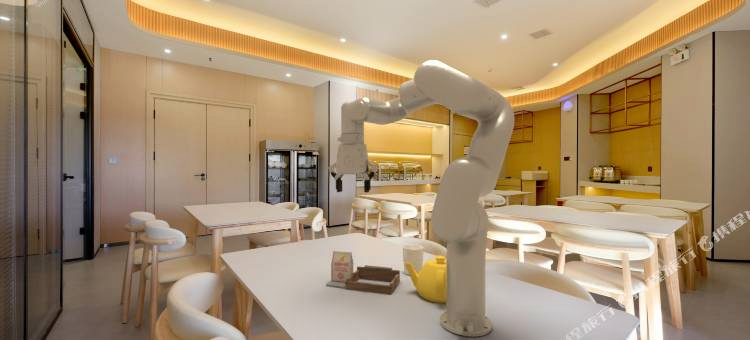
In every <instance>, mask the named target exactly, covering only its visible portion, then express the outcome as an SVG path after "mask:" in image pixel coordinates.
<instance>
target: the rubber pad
mask: <svg viewBox="0 0 750 340" xmlns="http://www.w3.org/2000/svg"><path fill="white" fill-rule="evenodd" d="M325 287H329V288H330V287H331V288H338V289H345V283H344V282H335V281H331V280H330V281H329V282H327V283H325Z"/></svg>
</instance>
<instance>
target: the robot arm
mask: <svg viewBox="0 0 750 340" xmlns="http://www.w3.org/2000/svg"><path fill="white" fill-rule="evenodd" d="M436 104H440V105H441V106H443V107H445V108H447V109H449V110H450V111H451V112H453V113H455V114H457V115H460V116H461V117H466V118H468V119H471V120H475V121H476V122H477V123H478V126H477V128H476V129H475V131H474V134H473V135H472V138H471V141H470V143H469V144H470V145H469V148H468V151H467V153H466V156H465V157H460V158H457V159H456V158H455V159H454V160H453V161H451V162H450V163H449V164H448V166H447V167H446V168H445V170H444V172H443V174H442V177H441V179H440V180H441V181H440V183H439V186H438V190H437V192H436V196H435V199H434V204H433V206H432V210H431V215H430V227H431V230H432V233H433V234H434V235H435V237H436V238H437V239H438V240H439V241H441V242H443V243H446V244H447V245H446V257H445V260H446V303H445V304H446V305H445V309H446V311H444V312H442V313H441V314H440V317H439V320H440V325H441V326H442V327H443V328H444V329H445V330H446V331H448V332H450V333H453V334H454V335H458V336H463V337H475V338H476V337H482V336H483V337H484V336H486V335H488V334H489V333H491V331H492V329H493V323H492V321H491V319H490V318H489V317H488V316H486V253H487V249H486V248H487V238H488V233H489V231H488V230H489V217H488V213H487V210H486V209H485V207H484V206H483V205H482V204H481V203H480V202H479V199H480V197H485V196H488V195H490V194H491V193H493V191H494V189H495V188H496V185H497V183H498V180H499V176H500V173H501V170H502V167H503V164H504V160H505V157H506V153H507V152H508V151H507V150H508V147H509V145H510V141H511V137H512V135H513V131H514V127H515V113H514V109H513V107H512V105H511V104H510V102H509V101H508V99H507V98H506V97H504V95H502V94H501V93H500V92H498V91H497V90H495V89H494V88H493V87H491V86H489V85H488V84H485V83H484V82H482V81H480V80H478V79H476V78H475V77H472V76H470V75H468V74H466V73H464V72H462V71H459V70H458V69H456V68H453V67H451V66H450V65H447V64H446V63H444V62H443V61H440V60H439V59H438V60H437V59H429V60H426V61H424V62H423V63H421V64H420V65H419V66H418V67H417V69H416V70H415V72H414V75H413V78H412V79H409V80H406V81H404V82H402V83H401V84H400V85H399V87H398V97H396V98H393V99H391V100H387V101H381V100H380V99H379V100H378V99H376V98H372V97H371V98H370V97H367V96H362V97H359V98H357V99H354V100H353V101H346V102H344V103H342V104H341V107H340V108H341V109H340V119H341V120H340V125H341V126H340V129H341V131H340V136H339V137H337V142H340V143H339V144H338V147H337V152H336V153H337V154H336V161H335V163H333V164H331V165H329V166H328V168H327V169H328V171H329V173H330V175H331V176H332V177H333V179H334V181H335V190H336V193H342V192H343V179H342V177H344V175H362V176H363V178H365V179H364V182H363V186H364V187H363V189H364V190H363V191H364V193H366V194H367V193H370V190H371V189H372V187H371V180H373V178H374V177H375V176H376V173H377V172H378V170H379V166H378V165H376V164H374V163H372V162H371V161H369V154H368V148H367V144H366V143H365V123H368V124H375V125H379V126H381V125H382V126H384V125H389V124H392V123H396V122H399V121H402V120H404V119H406V118H407V117H408V116H410V115H411V114H412V113H413V112H415V111H417V110H421V109H423V108H426V107H430V106H433V105H436ZM369 167H370V168H372V170H371V172H370V173H369V170H370V169H369Z"/></svg>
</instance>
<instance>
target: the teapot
mask: <svg viewBox="0 0 750 340" xmlns="http://www.w3.org/2000/svg"><path fill="white" fill-rule="evenodd" d="M406 267H407V270H408V272H409V275H408V276H409V277H410V280H411V282H412V284H413V287H415V289H416V292H418V294H419V295H420V296H421V298H423V299H425V300H427V301H428V302H433V303H440V304H441V303H442V304H446V257H445V256H444V255H440V254H439V255H438V254H437V255H435V257H434V258H433V259H429V260H427V261H425V262H424V263H423V266H422V268H421V270H420V272H419V274H418V273H416V271H415V269H414V268H413V266H412V264H411V263H406Z"/></svg>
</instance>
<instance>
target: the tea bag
mask: <svg viewBox="0 0 750 340" xmlns="http://www.w3.org/2000/svg"><path fill="white" fill-rule="evenodd" d="M330 266H331V267H330V269H331V270H330V271H331V274H330V276H331V278H330V279H331V280H330V281H335V282H344V283H345V281H346V279H347V278H348V277H349V276H351V275H352V274H353V273H354V259H353V253H352V252H351V251H341V250H340V251H339V250H333V251H332V258H331V265H330Z"/></svg>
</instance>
